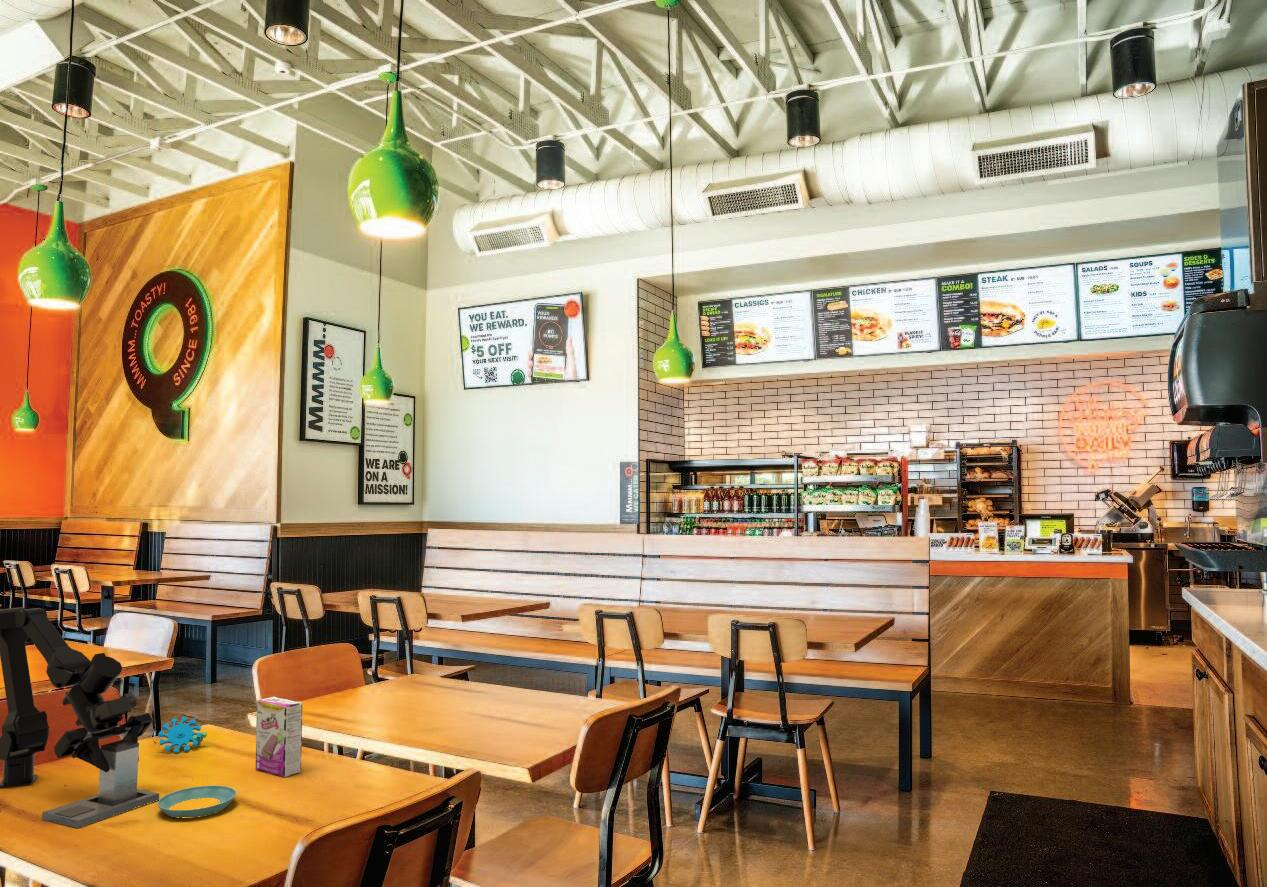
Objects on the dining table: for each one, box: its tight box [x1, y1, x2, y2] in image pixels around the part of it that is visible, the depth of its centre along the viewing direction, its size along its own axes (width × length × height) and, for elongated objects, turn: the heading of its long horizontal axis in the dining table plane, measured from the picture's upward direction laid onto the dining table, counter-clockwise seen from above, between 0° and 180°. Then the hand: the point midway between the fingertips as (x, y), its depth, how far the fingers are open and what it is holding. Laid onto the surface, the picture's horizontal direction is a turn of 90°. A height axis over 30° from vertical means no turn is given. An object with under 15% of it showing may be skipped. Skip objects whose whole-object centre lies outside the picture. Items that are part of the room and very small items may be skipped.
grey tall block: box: [98, 739, 140, 806], centre depth 186 cm, size 5×5×12 cm
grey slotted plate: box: [41, 788, 160, 829], centre depth 182 cm, size 11×18×2 cm, turn 155°
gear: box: [157, 716, 208, 754], centre depth 227 cm, size 11×6×10 cm
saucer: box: [156, 785, 238, 819], centre depth 183 cm, size 15×15×3 cm
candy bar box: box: [255, 696, 303, 778], centre depth 208 cm, size 11×5×16 cm, turn 58°
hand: (123, 766), depth 185 cm, fingers open, 6 cm apart
